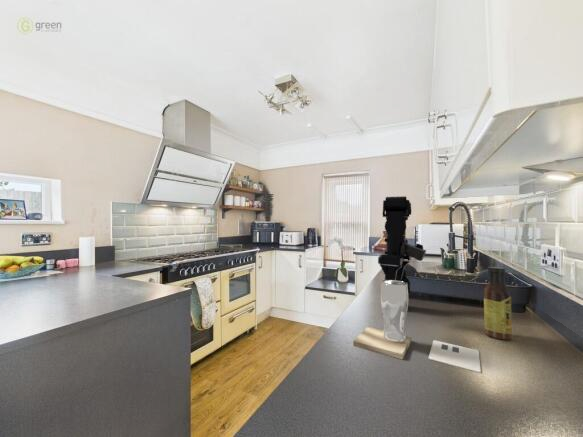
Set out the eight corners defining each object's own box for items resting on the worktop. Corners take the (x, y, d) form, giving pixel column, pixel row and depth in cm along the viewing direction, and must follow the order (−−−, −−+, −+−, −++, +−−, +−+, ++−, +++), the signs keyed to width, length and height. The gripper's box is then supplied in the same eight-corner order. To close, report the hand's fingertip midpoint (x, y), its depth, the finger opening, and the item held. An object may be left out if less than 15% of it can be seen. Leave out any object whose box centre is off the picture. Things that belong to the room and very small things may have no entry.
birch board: (367, 330, 77) (367, 326, 77) (411, 341, 70) (411, 336, 70) (353, 345, 67) (353, 340, 67) (402, 359, 60) (402, 354, 60)
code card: (433, 340, 70) (433, 340, 70) (478, 351, 65) (478, 350, 65) (428, 359, 61) (428, 358, 61) (480, 373, 55) (480, 372, 55)
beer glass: (393, 331, 74) (393, 278, 74) (414, 340, 67) (414, 283, 68) (375, 335, 71) (375, 280, 71) (395, 345, 64) (395, 286, 65)
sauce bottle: (512, 343, 70) (511, 270, 71) (484, 336, 74) (483, 267, 74) (510, 335, 75) (509, 267, 76) (484, 329, 79) (483, 265, 80)
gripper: (419, 237, 69) (419, 294, 69) (427, 235, 85) (427, 283, 84) (377, 235, 76) (377, 288, 75) (392, 234, 91) (392, 278, 91)
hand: (395, 284), depth 81 cm, fingers open, 9 cm apart
